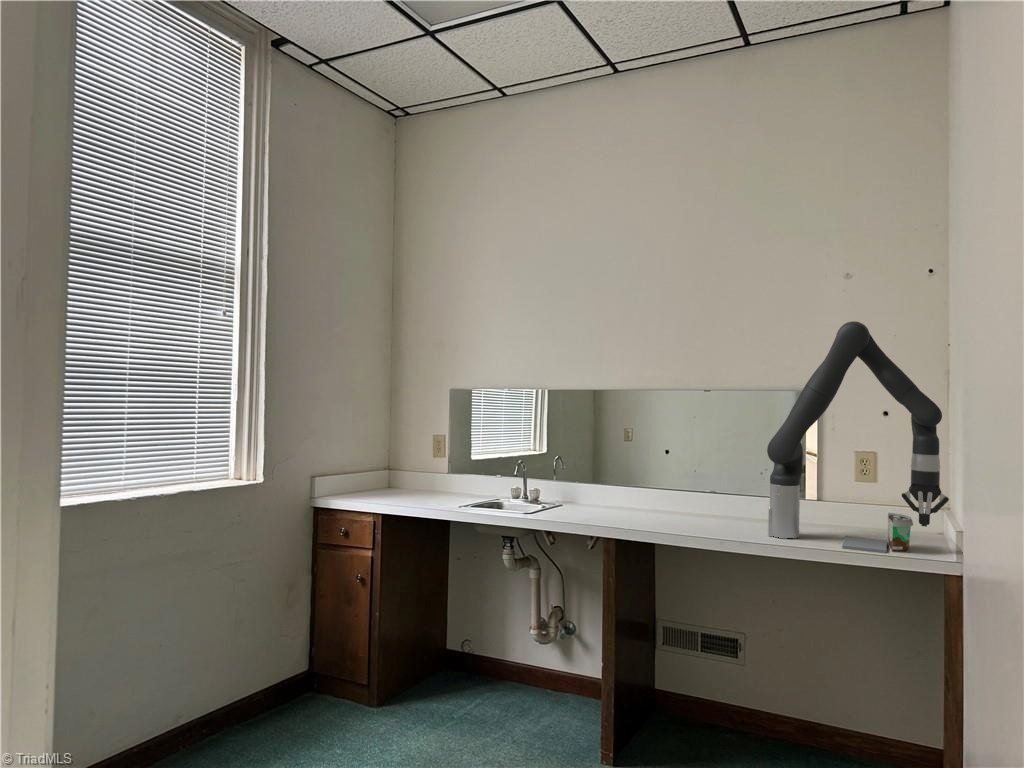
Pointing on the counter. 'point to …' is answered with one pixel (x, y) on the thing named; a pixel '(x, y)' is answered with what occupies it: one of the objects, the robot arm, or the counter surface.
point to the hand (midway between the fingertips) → (924, 525)
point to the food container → (899, 532)
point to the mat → (865, 544)
